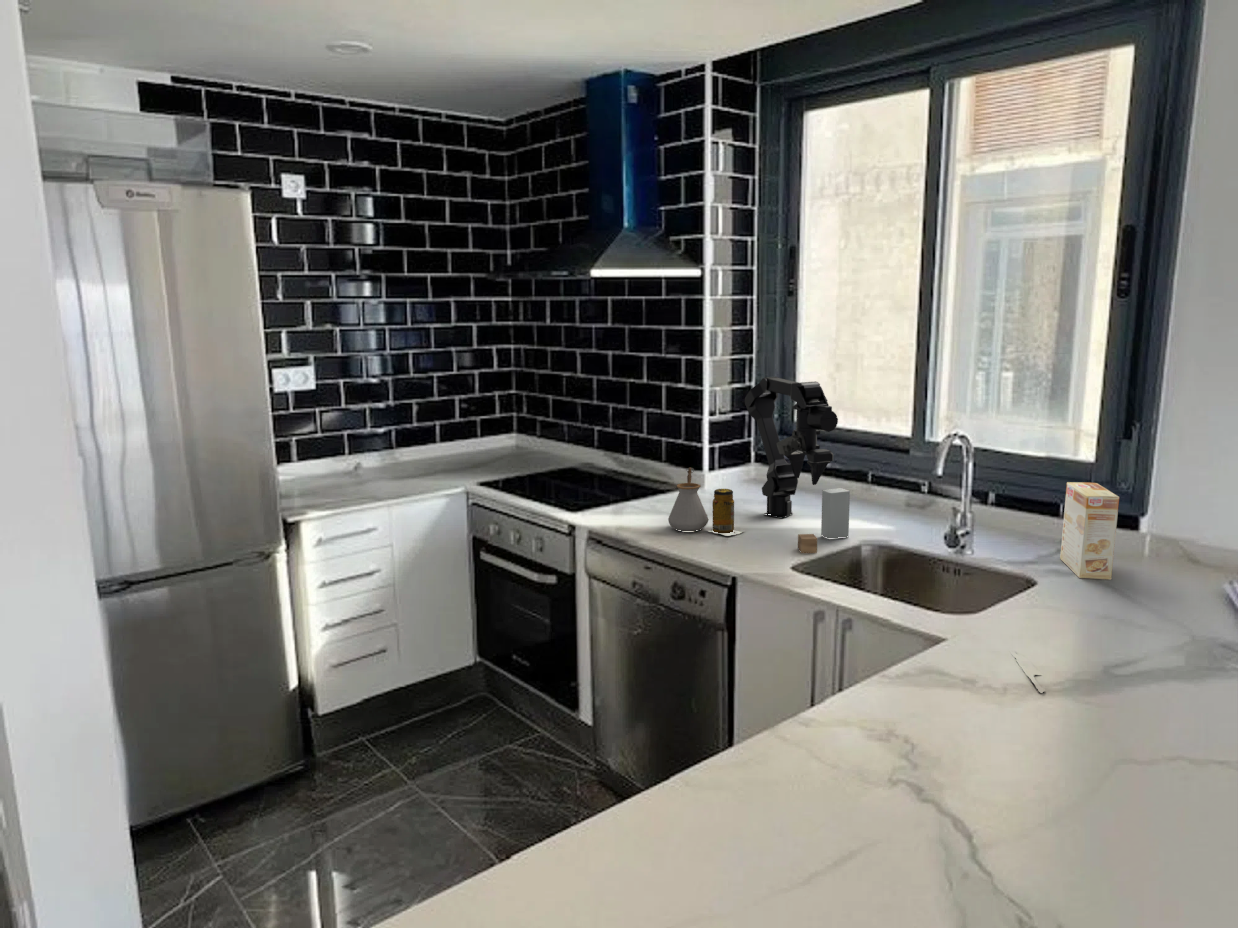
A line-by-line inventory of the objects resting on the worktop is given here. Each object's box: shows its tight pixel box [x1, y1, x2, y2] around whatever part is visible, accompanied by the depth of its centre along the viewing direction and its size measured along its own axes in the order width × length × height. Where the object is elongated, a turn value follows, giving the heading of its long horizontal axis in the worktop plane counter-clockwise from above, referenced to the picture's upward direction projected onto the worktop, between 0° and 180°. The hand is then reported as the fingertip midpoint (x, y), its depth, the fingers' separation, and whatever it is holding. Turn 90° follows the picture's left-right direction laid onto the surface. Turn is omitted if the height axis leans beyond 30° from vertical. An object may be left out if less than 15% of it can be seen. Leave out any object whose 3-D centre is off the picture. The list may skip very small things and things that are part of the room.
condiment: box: [711, 488, 735, 533], centre depth 236 cm, size 7×8×12 cm
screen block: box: [820, 487, 851, 538], centre depth 229 cm, size 4×6×13 cm, turn 109°
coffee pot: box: [667, 466, 710, 531], centre depth 245 cm, size 21×12×15 cm, turn 173°
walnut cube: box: [797, 533, 818, 554], centre depth 219 cm, size 4×4×4 cm
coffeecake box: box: [1059, 481, 1120, 581], centre depth 198 cm, size 15×7×20 cm, turn 168°
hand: (805, 481), depth 240 cm, fingers open, 9 cm apart
